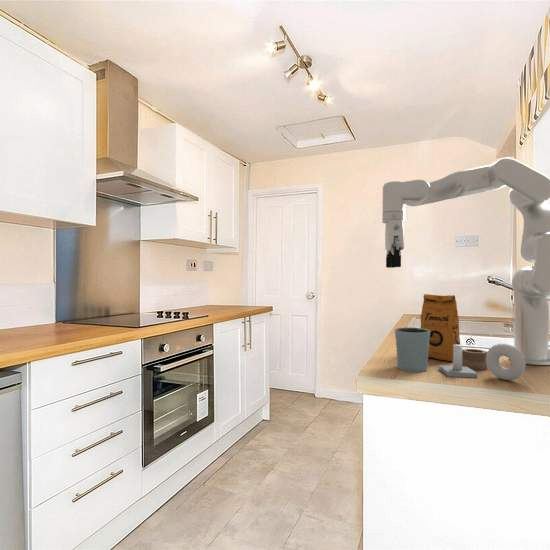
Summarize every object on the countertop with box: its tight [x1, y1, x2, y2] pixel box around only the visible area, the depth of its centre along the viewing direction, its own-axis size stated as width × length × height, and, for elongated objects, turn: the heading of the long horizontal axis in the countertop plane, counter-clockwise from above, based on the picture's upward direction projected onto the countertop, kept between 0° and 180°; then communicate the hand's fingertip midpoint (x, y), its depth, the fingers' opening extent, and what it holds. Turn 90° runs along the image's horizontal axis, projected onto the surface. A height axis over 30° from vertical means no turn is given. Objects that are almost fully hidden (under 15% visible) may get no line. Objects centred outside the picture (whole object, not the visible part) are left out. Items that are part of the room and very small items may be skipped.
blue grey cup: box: [394, 326, 430, 373], centre depth 117 cm, size 10×10×12 cm
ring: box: [462, 348, 488, 370], centre depth 120 cm, size 7×7×5 cm
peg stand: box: [438, 344, 479, 378], centre depth 112 cm, size 8×8×8 cm
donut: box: [486, 343, 527, 381], centre depth 106 cm, size 10×4×10 cm, turn 37°
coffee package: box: [420, 293, 461, 363], centre depth 132 cm, size 10×12×22 cm
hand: (393, 267), depth 134 cm, fingers open, 9 cm apart
